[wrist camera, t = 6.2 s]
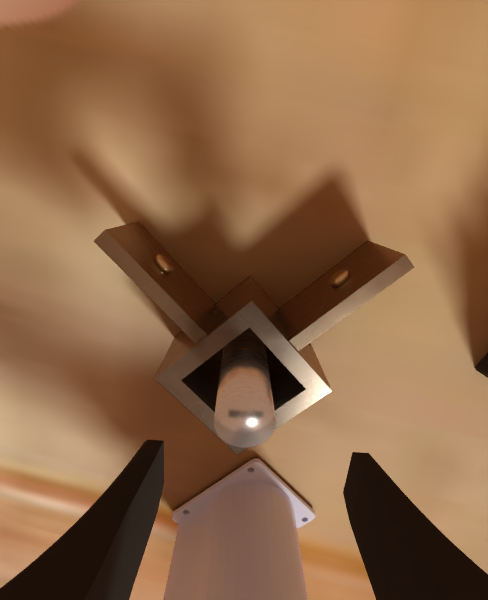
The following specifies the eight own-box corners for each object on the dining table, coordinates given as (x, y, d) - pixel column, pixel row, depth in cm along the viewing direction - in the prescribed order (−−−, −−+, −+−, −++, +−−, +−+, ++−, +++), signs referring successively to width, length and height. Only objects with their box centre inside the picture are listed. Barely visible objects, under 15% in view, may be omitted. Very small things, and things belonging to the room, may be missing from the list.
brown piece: (238, 401, 23) (237, 454, 18) (97, 261, 20) (50, 282, 15) (400, 285, 20) (447, 313, 16) (265, 99, 17) (274, 61, 12)
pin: (242, 367, 22) (241, 457, 15) (215, 340, 22) (200, 419, 14) (272, 344, 22) (288, 425, 14) (246, 316, 21) (248, 385, 13)
